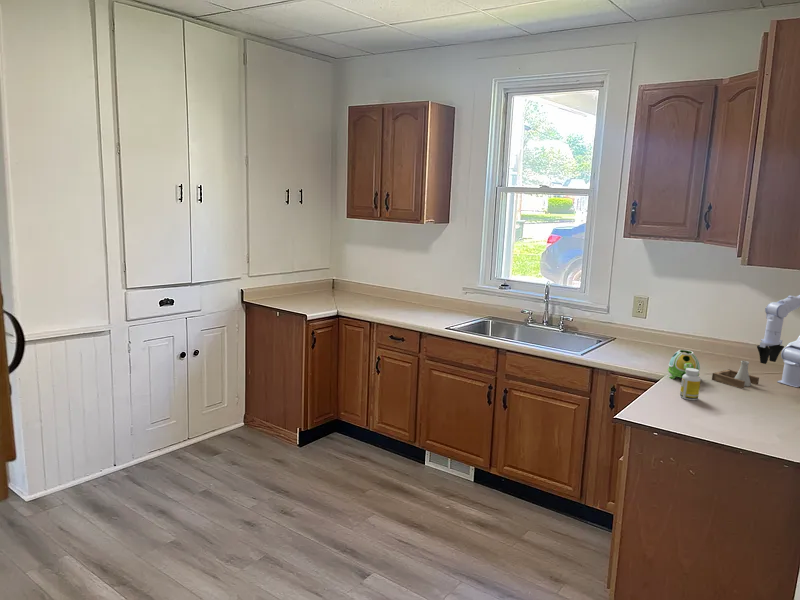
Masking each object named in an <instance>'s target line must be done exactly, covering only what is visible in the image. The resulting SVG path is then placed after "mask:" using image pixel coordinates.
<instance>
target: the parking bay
mask: <svg viewBox="0 0 800 600" xmlns="http://www.w3.org/2000/svg"><path fill="white" fill-rule="evenodd" d="M737 373H738V371H737V370H733V369H730V368H729V369H728V368H727V369H725V370H721V371H717V372H713V373H712V375H711V381H714V382H718V383H722V384H725V385H729V386H732V387H736V388H738V389H742V390H743V389H745V386H744V384H745V381H742V380H739V379H735V376H736V375H737ZM749 378H750V382H751V385H755V386H757V385H759V380H760V377H759V376H754V375H752V374H749Z"/></svg>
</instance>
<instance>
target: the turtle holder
mask: <svg viewBox="0 0 800 600" xmlns="http://www.w3.org/2000/svg"><path fill="white" fill-rule="evenodd" d="M686 368H694V369H697V370H699V371H701V367H700V361H699V359H698V358H697V356H696V355H695V353H694V352H693V351H692V350H688V349H678V351H676V352H675V353H674V354H673V355H672V356H671V358H670V360H669V363H668V369H667V371H668V373H669V374H670V375H669V377H668V378H669V379H672V380H675V378H681V379H682V376H683V375H684V374H686V372H685V371H686ZM699 375H700V373H699V374H698V376H699ZM699 377H700V376H699Z"/></svg>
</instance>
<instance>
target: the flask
mask: <svg viewBox="0 0 800 600" xmlns="http://www.w3.org/2000/svg"><path fill="white" fill-rule="evenodd" d="M749 364H750V361H747V360H740V367H739V369H738V371H737V372H738V373H737V375H736V376H735V379H739V380H742V381H745V384H744V387H750V386H752V383H751V382H750V378H749V375H750V374H749Z"/></svg>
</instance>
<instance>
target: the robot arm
mask: <svg viewBox="0 0 800 600" xmlns="http://www.w3.org/2000/svg"><path fill="white" fill-rule="evenodd" d="M799 308H800V294H799V295H796V296H795V295H788V296H787V297H785V298H784V299H783V298H782V299H779V300H778V301H776V302H775V301H771V302H769V303H768V304H766V307H765V309H764V312H765V314H766V315H765V318H766V323H765V331H764V336H763V338H761V339H760V342H759V344H757V346H756V349H757V351H758V354H759V363H761V364H764V365H767V363H768V361H769V362H773V363H776V361H777V360H778V357H779V355H780V356H781V359H782V361H783V363H784V364H783V369H782V375H781V379H780V380H777V381H776V382H777V383H779V384H783V385H786V386H790V387H794V388H799V387H800V334H799V336H798V337H797V338H796V340H794V341H791V342H788V344H787V345H786V346H784V345H783V339H781V336H782V329H783V324H784V319H785V318H786V317H787V316H788V315H789V313H791V312H793V311H795V310H797V309H799Z"/></svg>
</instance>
